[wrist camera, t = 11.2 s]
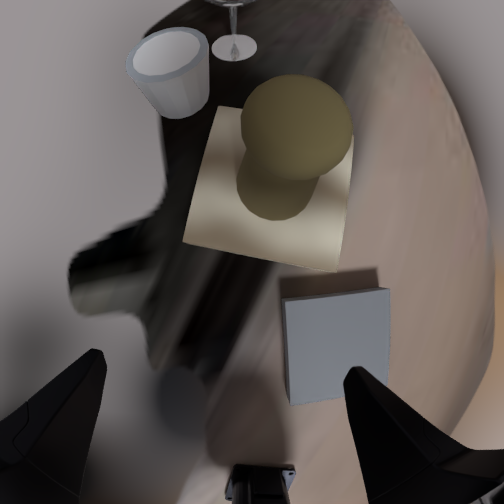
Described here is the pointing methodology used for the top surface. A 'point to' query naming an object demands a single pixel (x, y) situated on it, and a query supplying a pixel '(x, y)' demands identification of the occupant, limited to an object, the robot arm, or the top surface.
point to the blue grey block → (334, 341)
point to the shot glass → (172, 70)
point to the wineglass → (233, 35)
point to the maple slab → (253, 227)
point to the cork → (290, 143)
